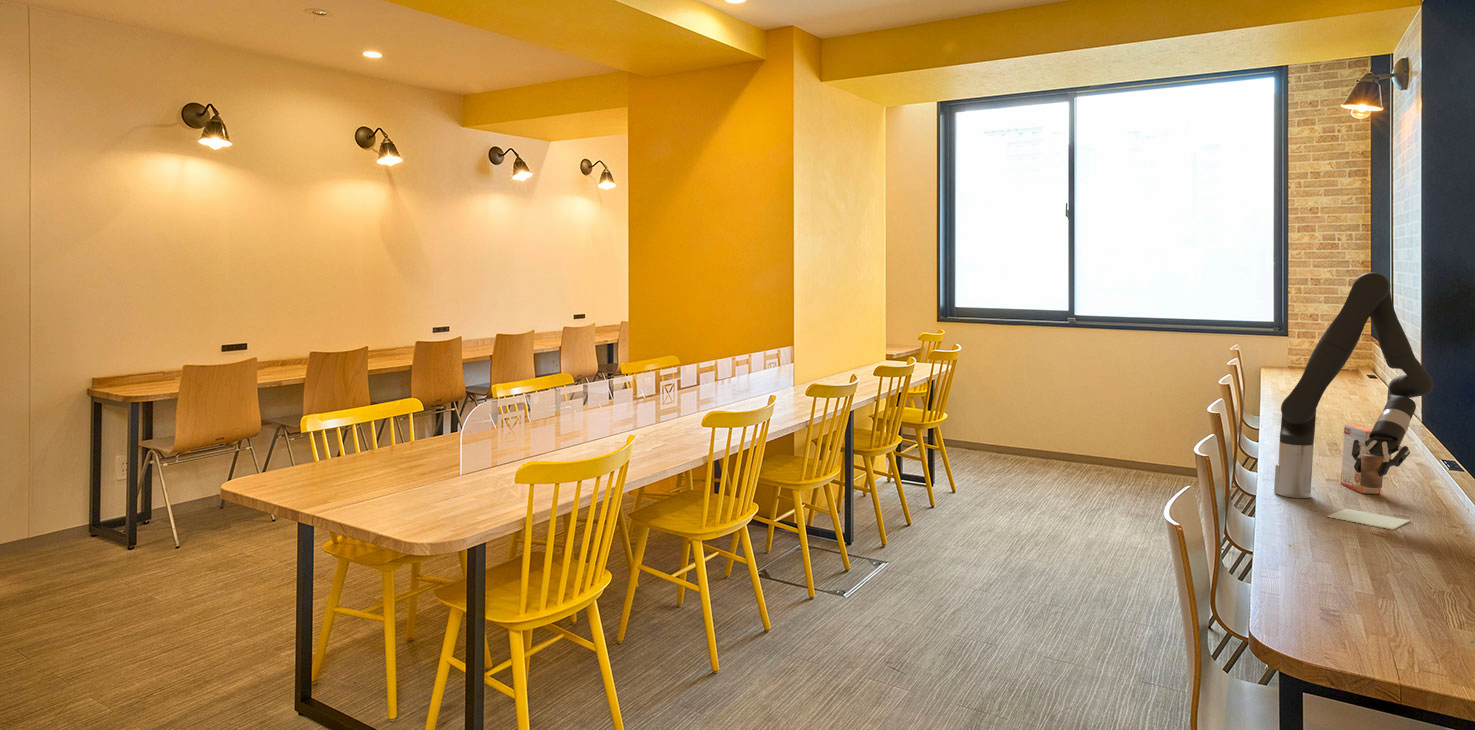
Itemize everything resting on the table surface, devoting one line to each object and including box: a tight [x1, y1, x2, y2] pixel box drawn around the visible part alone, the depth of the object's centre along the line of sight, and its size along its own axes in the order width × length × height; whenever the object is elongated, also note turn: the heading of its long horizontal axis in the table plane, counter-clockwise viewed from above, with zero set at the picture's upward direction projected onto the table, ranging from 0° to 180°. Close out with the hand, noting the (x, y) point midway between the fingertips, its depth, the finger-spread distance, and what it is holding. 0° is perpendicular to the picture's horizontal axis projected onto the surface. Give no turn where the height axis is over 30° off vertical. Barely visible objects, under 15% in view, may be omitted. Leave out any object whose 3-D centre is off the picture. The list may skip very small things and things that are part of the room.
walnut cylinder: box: [1360, 454, 1384, 489], centre depth 246 cm, size 5×5×9 cm
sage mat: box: [1326, 508, 1411, 531], centre depth 247 cm, size 16×14×1 cm
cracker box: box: [1340, 424, 1382, 495], centre depth 281 cm, size 14×6×21 cm, turn 168°
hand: (1368, 472), depth 245 cm, fingers closed on walnut cylinder, 5 cm apart
